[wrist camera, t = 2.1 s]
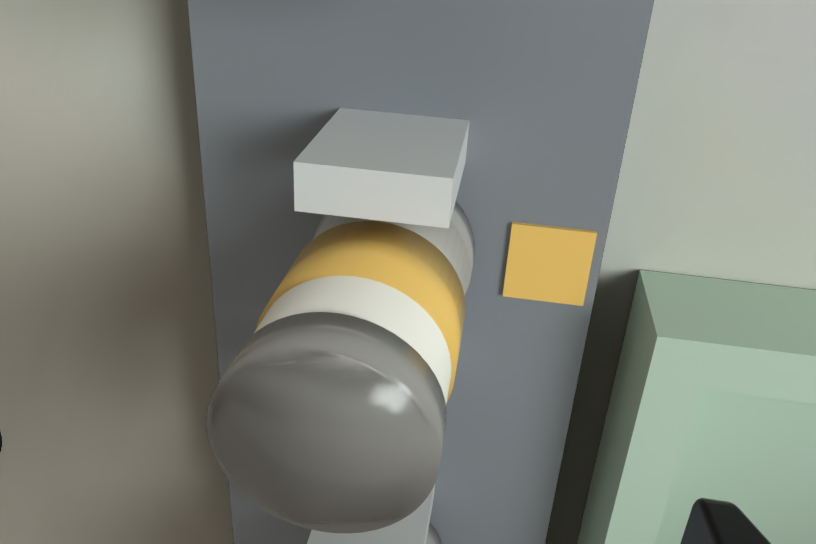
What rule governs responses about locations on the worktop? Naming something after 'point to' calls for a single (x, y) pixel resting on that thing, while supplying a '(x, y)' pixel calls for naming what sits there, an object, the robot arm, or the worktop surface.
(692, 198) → the worktop surface
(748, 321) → the tray
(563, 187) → the fuse panel
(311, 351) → the fuse marked
